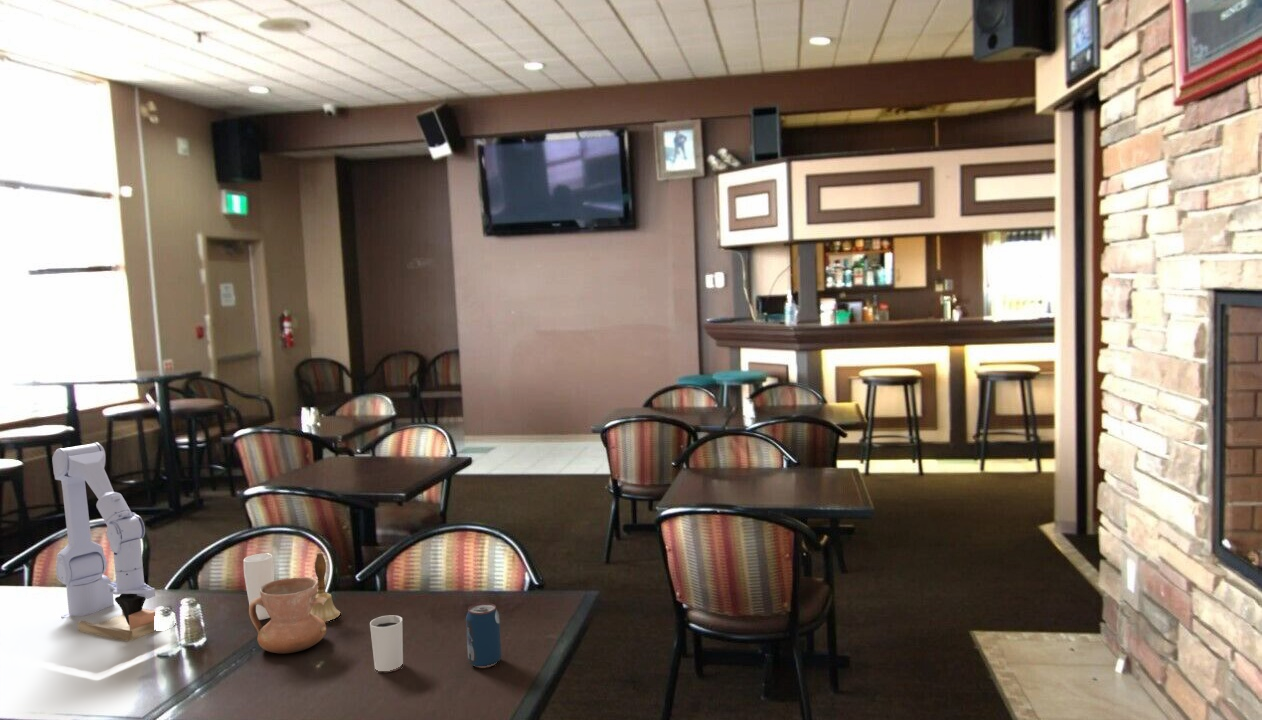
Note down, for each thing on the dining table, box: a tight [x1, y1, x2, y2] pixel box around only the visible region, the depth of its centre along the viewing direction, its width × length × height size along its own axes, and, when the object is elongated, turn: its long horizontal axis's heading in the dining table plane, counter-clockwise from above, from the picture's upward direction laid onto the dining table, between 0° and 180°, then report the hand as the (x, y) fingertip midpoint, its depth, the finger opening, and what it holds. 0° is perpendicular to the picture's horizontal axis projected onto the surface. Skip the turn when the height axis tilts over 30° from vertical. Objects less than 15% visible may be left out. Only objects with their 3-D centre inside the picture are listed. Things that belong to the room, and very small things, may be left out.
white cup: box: [369, 614, 404, 671], centre depth 185 cm, size 7×7×10 cm
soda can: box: [465, 602, 502, 666], centre depth 185 cm, size 7×7×12 cm
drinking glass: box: [243, 553, 275, 621], centre depth 217 cm, size 7×7×15 cm
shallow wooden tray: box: [77, 607, 155, 642], centre depth 211 cm, size 12×18×3 cm, turn 65°
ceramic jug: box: [248, 576, 327, 654], centre depth 198 cm, size 18×14×14 cm
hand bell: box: [310, 552, 341, 623], centre depth 215 cm, size 8×8×16 cm
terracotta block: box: [129, 608, 156, 630], centre depth 208 cm, size 4×4×4 cm
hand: (133, 623), depth 210 cm, fingers closed
